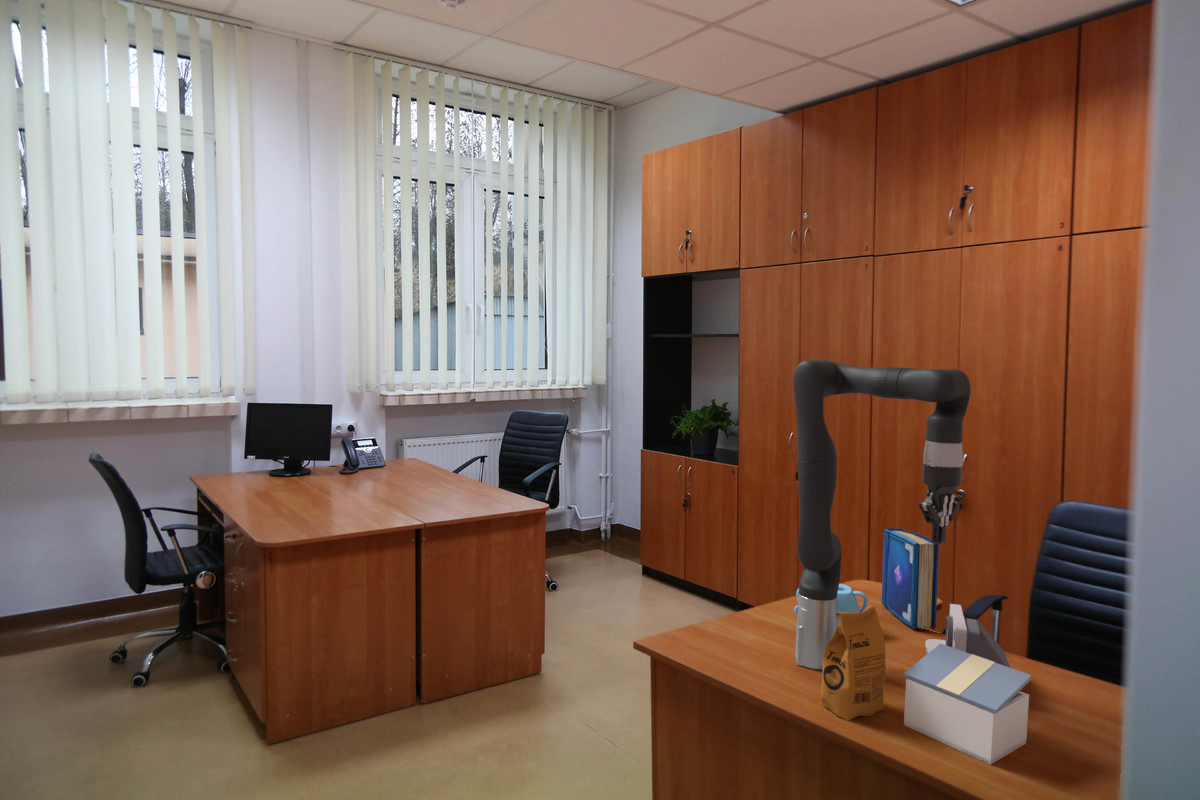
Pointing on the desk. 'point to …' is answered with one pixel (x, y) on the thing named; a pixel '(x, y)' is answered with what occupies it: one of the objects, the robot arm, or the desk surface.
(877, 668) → the coffee package
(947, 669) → the lid
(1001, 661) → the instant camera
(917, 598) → the book
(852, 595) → the decorative pot
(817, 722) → the desk surface
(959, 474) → the robot arm
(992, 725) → the storage box
